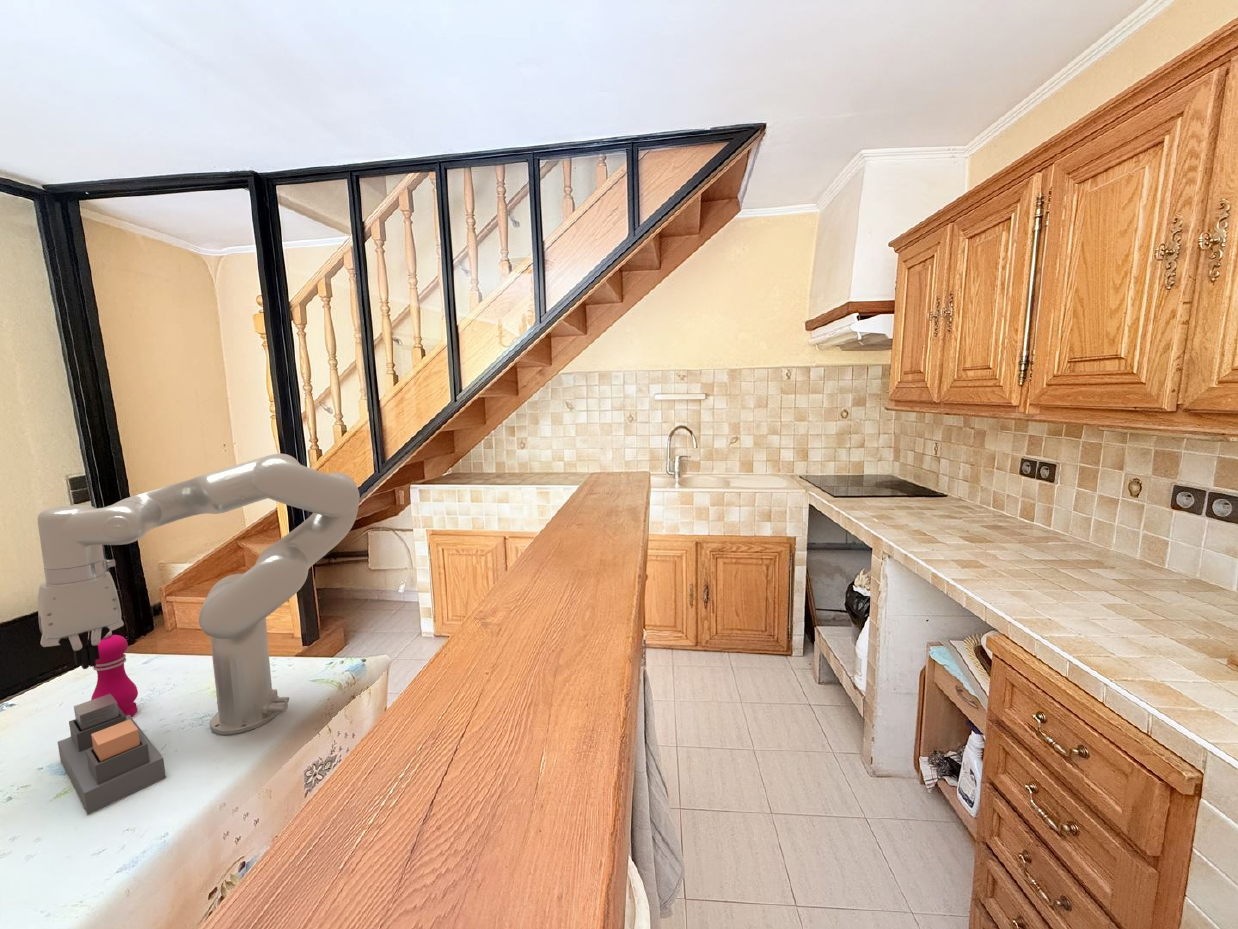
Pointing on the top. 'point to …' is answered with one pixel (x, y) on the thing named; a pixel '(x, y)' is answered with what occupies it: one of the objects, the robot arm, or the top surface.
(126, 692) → the pepper mill
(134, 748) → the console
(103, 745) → the terracotta button
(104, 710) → the grey button
